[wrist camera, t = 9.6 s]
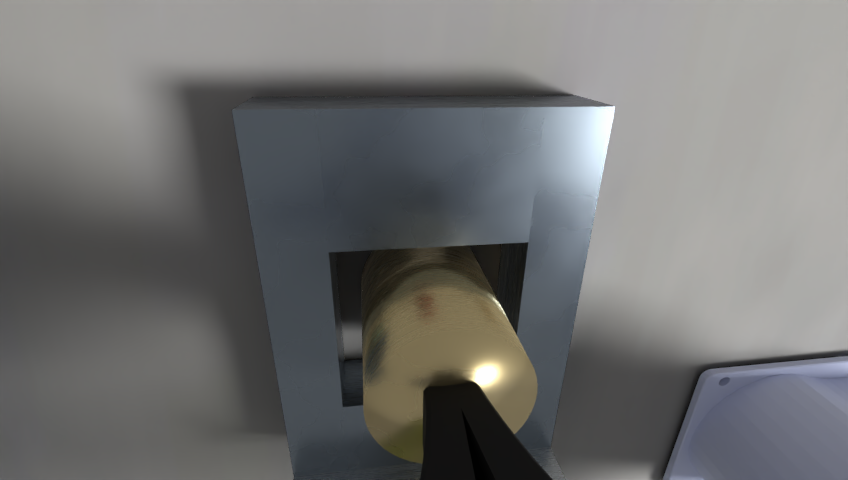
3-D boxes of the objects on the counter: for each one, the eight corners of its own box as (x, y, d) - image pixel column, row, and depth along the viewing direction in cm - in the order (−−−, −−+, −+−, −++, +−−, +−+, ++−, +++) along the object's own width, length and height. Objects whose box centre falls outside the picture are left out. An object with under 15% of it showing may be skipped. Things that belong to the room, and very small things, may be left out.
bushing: (488, 230, 16) (556, 332, 10) (468, 331, 18) (516, 462, 12) (365, 223, 15) (370, 328, 10) (357, 328, 17) (357, 467, 11)
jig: (575, 95, 14) (650, 116, 11) (527, 415, 20) (564, 498, 16) (252, 97, 13) (211, 121, 9) (303, 438, 19) (290, 534, 15)
